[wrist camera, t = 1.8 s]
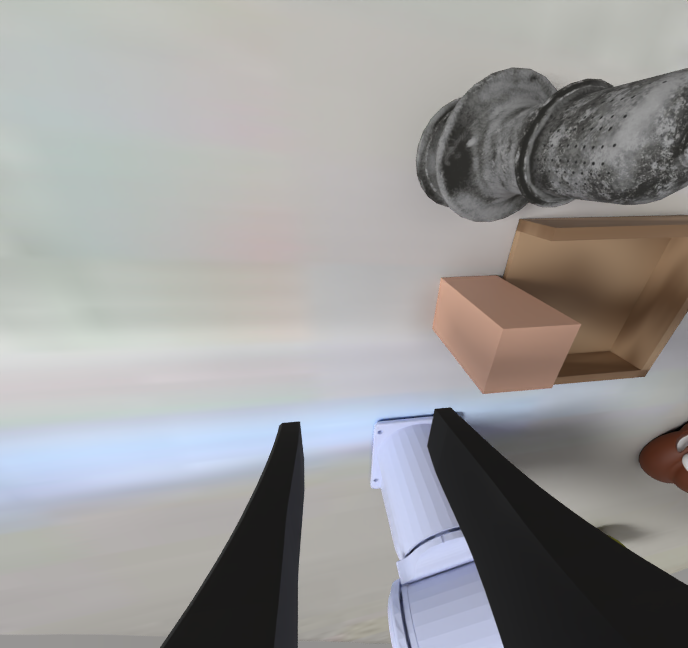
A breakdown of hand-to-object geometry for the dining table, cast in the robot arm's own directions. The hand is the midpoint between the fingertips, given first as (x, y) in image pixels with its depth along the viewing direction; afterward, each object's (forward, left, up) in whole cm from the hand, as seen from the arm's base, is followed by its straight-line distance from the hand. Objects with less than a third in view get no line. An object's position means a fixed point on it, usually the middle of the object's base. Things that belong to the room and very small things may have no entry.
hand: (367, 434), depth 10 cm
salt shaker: (+9, -7, -11) cm, 16 cm away
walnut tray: (0, -18, -10) cm, 20 cm away
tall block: (0, -9, -10) cm, 14 cm away
